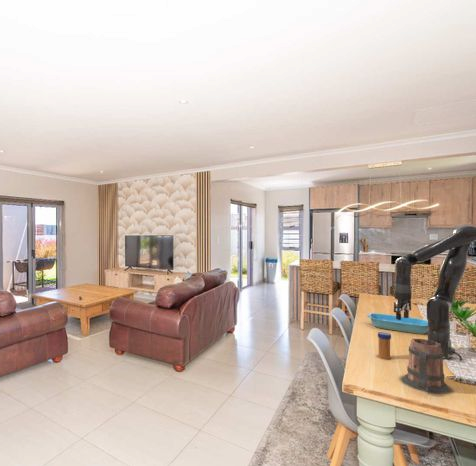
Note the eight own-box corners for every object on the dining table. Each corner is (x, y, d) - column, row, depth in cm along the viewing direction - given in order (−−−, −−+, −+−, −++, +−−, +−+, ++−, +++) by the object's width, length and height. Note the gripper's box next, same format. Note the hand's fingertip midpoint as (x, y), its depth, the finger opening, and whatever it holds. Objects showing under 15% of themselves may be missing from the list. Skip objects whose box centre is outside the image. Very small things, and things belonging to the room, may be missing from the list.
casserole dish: (430, 328, 235) (430, 318, 235) (436, 337, 217) (436, 326, 217) (366, 320, 256) (366, 311, 256) (366, 327, 238) (366, 318, 238)
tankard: (404, 372, 166) (404, 333, 166) (451, 384, 154) (452, 341, 153) (396, 389, 150) (396, 345, 150) (448, 403, 138) (449, 355, 137)
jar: (391, 357, 185) (391, 334, 185) (387, 360, 182) (388, 336, 182) (380, 354, 189) (380, 332, 189) (376, 356, 186) (376, 334, 186)
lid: (392, 338, 184) (392, 333, 184) (388, 340, 181) (388, 335, 181) (380, 335, 189) (380, 331, 189) (376, 337, 186) (376, 333, 186)
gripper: (404, 293, 188) (403, 322, 188) (416, 291, 194) (416, 318, 194) (389, 291, 194) (388, 318, 195) (401, 289, 201) (401, 315, 201)
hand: (402, 318), depth 195 cm, fingers open, 8 cm apart
